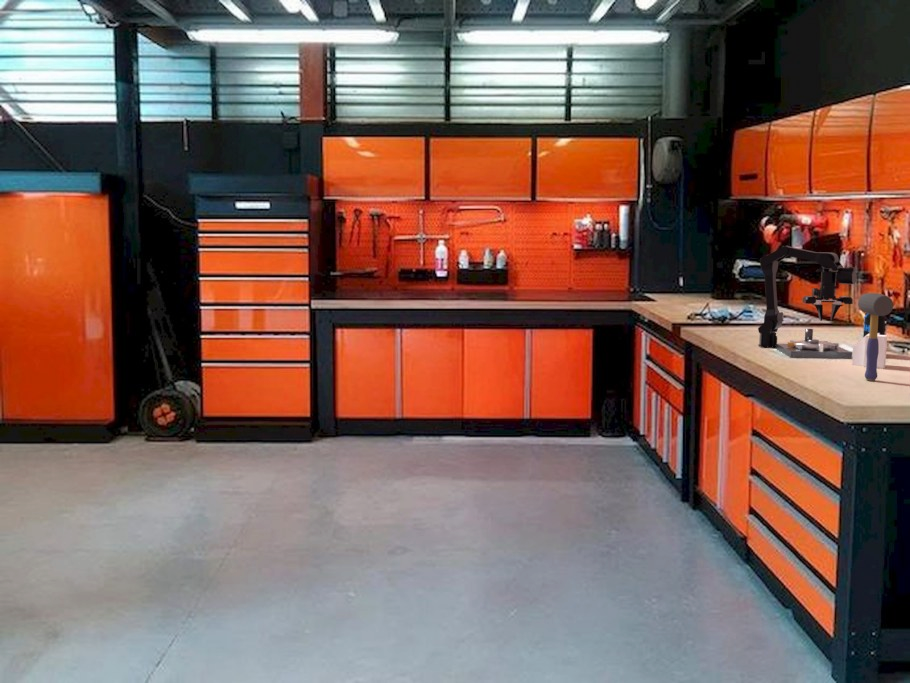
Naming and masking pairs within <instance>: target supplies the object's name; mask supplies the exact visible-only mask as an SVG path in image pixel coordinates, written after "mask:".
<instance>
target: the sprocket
mask: <svg viewBox="0 0 910 683" xmlns="http://www.w3.org/2000/svg"><path fill="white" fill-rule="evenodd" d="M804 330H805V331H804V339H802V340H793V339H792V340H789V341H788V342H787V344H788V347H795V348H798V349H812V350H818V348H819V344H823V350H828V349H832V350H837V348H838V347H840V346H839V345H840V344H839V343H838V342H831V341H828V340H819V339H813V337H814V328H805V329H804Z"/></svg>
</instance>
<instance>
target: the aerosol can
mask: <svg viewBox="0 0 910 683" xmlns="http://www.w3.org/2000/svg"><path fill="white" fill-rule="evenodd" d="M863 318H864V320H863V336H862V338H864V337H865V336H866V335H867V334H869V332H870V318H871V314H868V313H866V314H865V315H864V316H863ZM886 319H887V317H886V315H885V316H878V333H880V335H885V330H886V329H885V328H886Z"/></svg>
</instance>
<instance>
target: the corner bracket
mask: <svg viewBox="0 0 910 683" xmlns="http://www.w3.org/2000/svg"><path fill="white" fill-rule="evenodd" d="M877 338H878V343H879V353H878V358H877V369H881V370H883V369H885V368H886V363H887V362H886V360H887V347H888V346H887V345H888V335H887V334H884V335H880V333H877ZM868 339H869V334H867V335H866V336H865V337H864V338H863V337H862V338H861V339H860V340H859V341H858V342H855V344H854V345H852V358H851V360H852V361H851V364H852V366H861V367H863V368H866V366H867V354H866V352H867V343H868Z"/></svg>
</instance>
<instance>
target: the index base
mask: <svg viewBox="0 0 910 683" xmlns="http://www.w3.org/2000/svg"><path fill="white" fill-rule="evenodd" d="M776 349H777V350H776ZM775 350H776V351H778V350H779V351H778V352H779V353H781V352H782V353H781V354H784V355H786V356H787V357H789V358H797V359H798V358H799V359H800V358H801V359H803V358H804V359H805V358H806V359H808V358H809V359H810V358H811V359H813V358H814V359H852V357H853V351H850V350H847V349H845V348H843V347H841V346H838V348H837V350H832V349H828V350H823V344H819V348H818V350H812V349H798V348H795V347H788V343H777V344H776V347H775Z"/></svg>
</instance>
